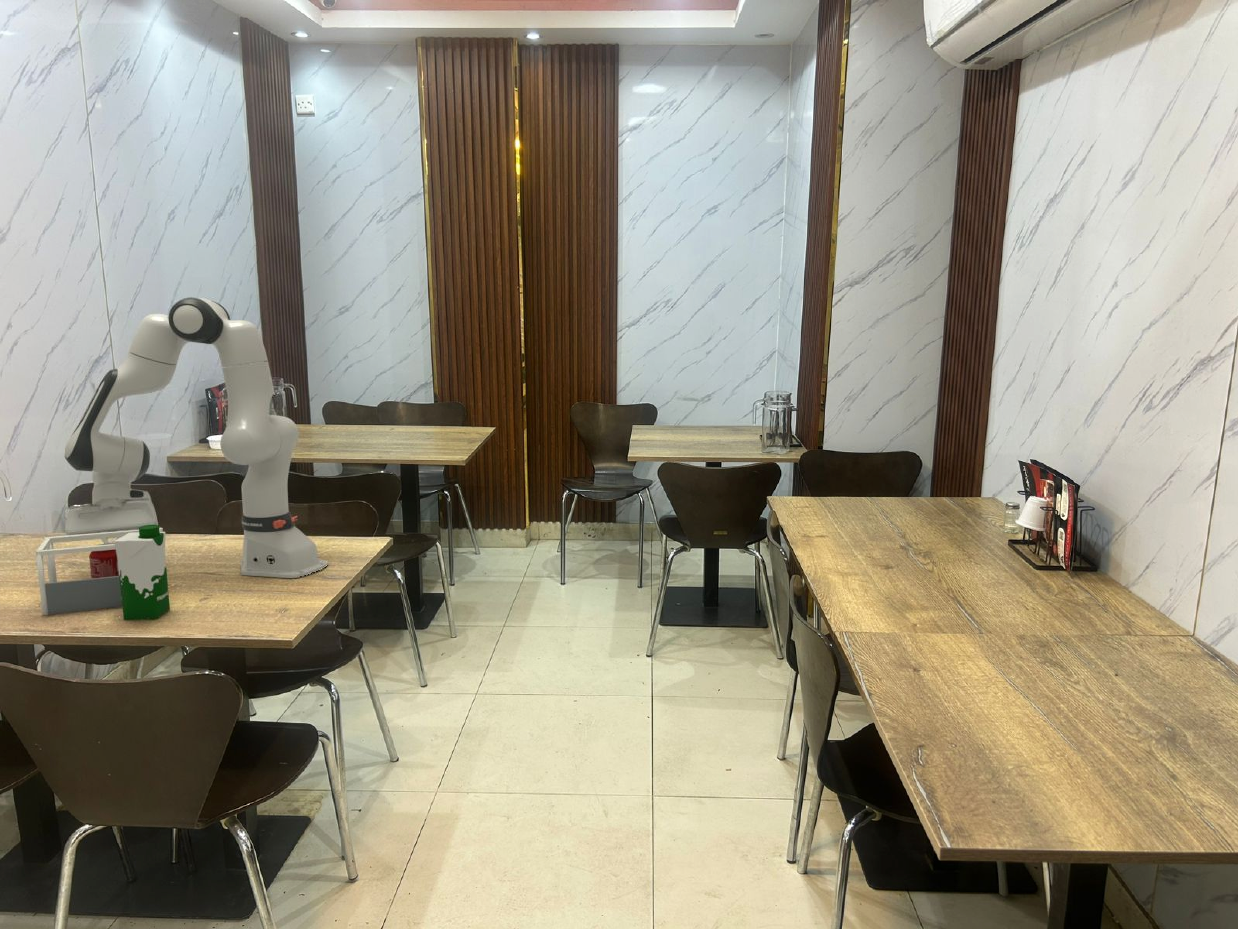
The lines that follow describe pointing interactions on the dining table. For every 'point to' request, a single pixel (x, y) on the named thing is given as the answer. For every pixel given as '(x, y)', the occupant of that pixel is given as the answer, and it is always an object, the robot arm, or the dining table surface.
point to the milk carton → (143, 573)
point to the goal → (77, 591)
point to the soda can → (104, 563)
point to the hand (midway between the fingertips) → (112, 548)
